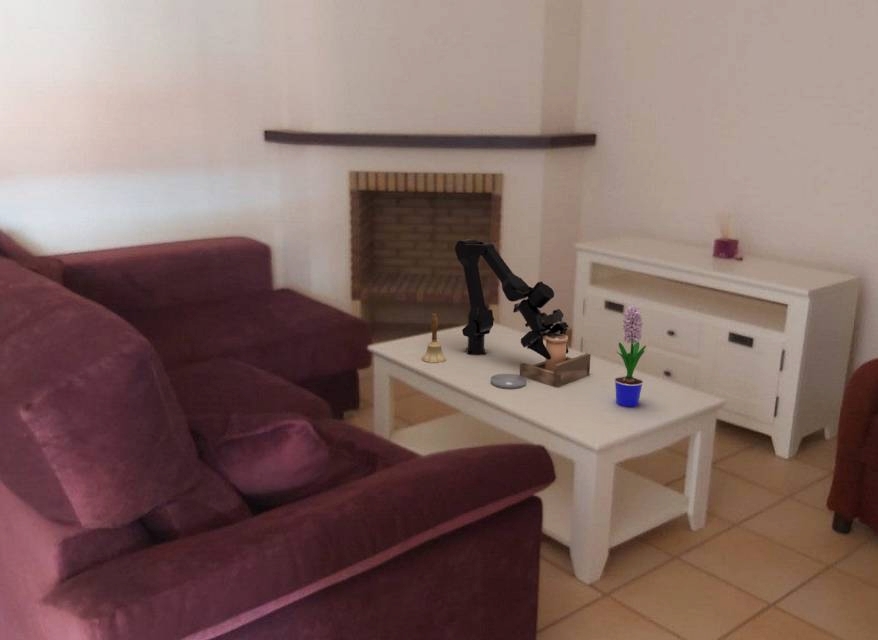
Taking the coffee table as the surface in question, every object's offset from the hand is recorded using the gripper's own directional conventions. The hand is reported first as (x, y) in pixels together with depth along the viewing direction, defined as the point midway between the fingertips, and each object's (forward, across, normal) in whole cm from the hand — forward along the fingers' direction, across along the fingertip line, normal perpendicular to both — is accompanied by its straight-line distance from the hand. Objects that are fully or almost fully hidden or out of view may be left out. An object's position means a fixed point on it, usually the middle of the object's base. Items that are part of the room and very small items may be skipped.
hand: (558, 356), depth 271 cm
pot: (+4, 0, +6) cm, 7 cm away
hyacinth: (+25, -4, -15) cm, 30 cm away
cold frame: (+4, 0, +6) cm, 7 cm away
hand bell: (-23, -16, +33) cm, 43 cm away
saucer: (0, -16, +10) cm, 19 cm away
